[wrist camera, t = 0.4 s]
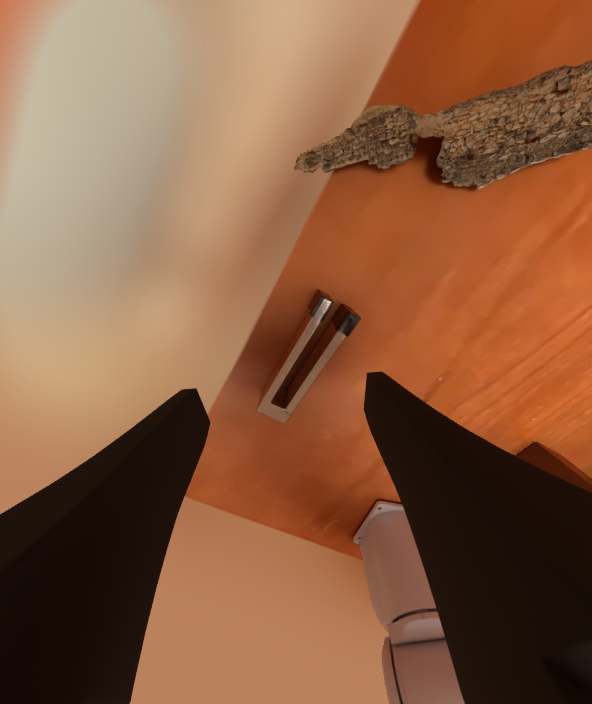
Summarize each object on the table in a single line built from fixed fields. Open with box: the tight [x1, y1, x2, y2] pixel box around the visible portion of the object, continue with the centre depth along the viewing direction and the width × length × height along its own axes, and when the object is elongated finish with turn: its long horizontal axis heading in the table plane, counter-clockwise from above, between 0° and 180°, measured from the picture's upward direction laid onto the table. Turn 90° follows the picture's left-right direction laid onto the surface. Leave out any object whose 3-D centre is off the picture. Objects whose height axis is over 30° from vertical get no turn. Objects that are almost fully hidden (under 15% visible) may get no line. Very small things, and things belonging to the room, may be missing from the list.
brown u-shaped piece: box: [256, 290, 361, 423], centre depth 18 cm, size 11×3×3 cm, turn 151°
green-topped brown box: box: [516, 442, 592, 493], centre depth 22 cm, size 12×4×6 cm, turn 151°
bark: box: [295, 61, 592, 190], centre depth 11 cm, size 24×5×2 cm, turn 100°
